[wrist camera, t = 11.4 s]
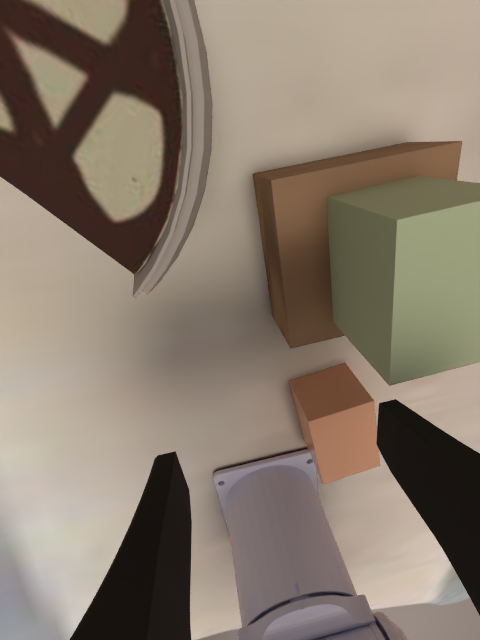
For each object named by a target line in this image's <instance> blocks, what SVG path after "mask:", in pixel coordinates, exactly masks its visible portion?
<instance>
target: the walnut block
mask: <svg viewBox="0 0 480 640" xmlns="http://www.w3.org/2000/svg"><path fill="white" fill-rule="evenodd" d="M461 146H462V141H448V142H407V143H402V144H397V145H392V146H387V147H382V148H377V149H372V150H367V151H362V152H357V153H352V154H348V155H343V156H338V157H333V158H328V159H323V160H318V161H313V162H308V163H303V164H298V165H293V166H288V167H284V168H279V169H274V170H269V171H264V172H259V173H254V174H253V180H254V187H255V194H256V201H257V208H258V215H259V222H260V229H261V237H262V244H263V251H264V258H265V265H266V272H267V279H268V287H269V294H270V301H271V308H272V315H273V318H274V319H275V321H276V323H277V325H278V327H279V329H280V330H281V332H282V334H283V336H284V338H285V339H286V341H287V343H288V345H289V347H290V348H294V347H299V346H303V345H307V344H311V343H315V342H320V341H324V340H328V339H332V338H337V337H341V336H345V335H344V334H343V333H342V332H341V330H340V329H339V328H338V327H337V326H336V325H335V324H334V322H333V307H332V288H331V269H330V250H329V231H328V212H327V197H328V196H332V195H337V194H341V193H346V192H350V191H355V190H359V189H364V188H368V187H373V186H377V185H382V184H386V183H390V182H395V181H399V180H404V179H408V178H413V177H417V176H421V177H430V178H438V179H447V180H455V181H457V175H458V168H459V160H460V153H461Z"/></svg>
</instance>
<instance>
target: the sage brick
mask: <svg viewBox="0 0 480 640" xmlns="http://www.w3.org/2000/svg"><path fill="white" fill-rule="evenodd" d="M327 212H328V231H329V250H330V269H331V288H332V307H333V322H334V324H335V325H336V326H337V327H338V328H339V329H340V330H341V332H342V333H343V334H344V335H345V336H346V337H347V338H348V339H349V341H350V342H351V343H352V344H353V345H354V346H355V347H356V348H357V350H358V351H359V352H360V353H361V354H362V355H363V356H364V358H365V359H366V360H367V361H368V362H369V363H370V364H371V365H372V367H373V368H374V369H375V370H376V371H377V372H378V373H379V375H380V376H381V377H382V378H383V379H384V380H385V381H386V382H387V384H388V385H389V386H390V385H394V384H398V383H401V382H405V381H409V380H413V379H417V378H421V377H424V376H428V375H432V374H436V373H440V372H444V371H447V370H451V369H455V368H459V367H463V366H467V365H471V364H474V363H478V362H480V183H472V182H464V181H455V180H447V179H438V178H430V177H421V176H417V177H413V178H408V179H404V180H399V181H395V182H390V183H386V184H382V185H377V186H373V187H368V188H364V189H359V190H355V191H350V192H346V193H341V194H337V195H332V196H328V197H327Z"/></svg>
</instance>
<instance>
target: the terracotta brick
mask: <svg viewBox="0 0 480 640" xmlns="http://www.w3.org/2000/svg"><path fill="white" fill-rule="evenodd" d="M289 382H290V386H291V390H292V394H293V398H294V402H295V406H296V410H297V414H298V418H299V422H300V425H301V429H302V433H303V437H304V441H305V443H306V445H307V448H308V450H309V452H310V455H311V457H312V459H313V462H314V464H315V467H316V469H317V471H318V474H319V476H320V478H321V481H322V483H323V484H326V483H329V482H332V481H335V480H338V479H341V478H344V477H347V476H350V475H353V474H356V473H359V472H362V471H365V470H369V469H372V468H375V467H378V466H380V459H379V448H378V446H377V444H376V442H377V427H376V416H375V406H374V400H373V399H372V397H371V396H370V395H369V393H368V392H367V391H366V390H365V388H364V387H363V386H362V384H361V383H360V382H359V380H358V379H357V378H356V377H355V375H354V374H353V373H352V371H351V370H350V369H349V367H348V366H347V365H346V363H343V364H340V365H337V366H333V367H330V368H327V369H324V370H321V371H318V372H315V373H312V374H309V375H306V376H303V377H300V378H296V379H293V380H290V381H289Z"/></svg>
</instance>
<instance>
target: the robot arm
mask: <svg viewBox="0 0 480 640" xmlns="http://www.w3.org/2000/svg"><path fill="white" fill-rule="evenodd" d="M376 444H377V446H378V448H379V450H380V452H381V454H382V456H383V458H384V460H385V462H386V463H387V465H388V467H389V469H390V471H391V473H392V474H393V476H394V477H395V479H396V480H397V482H398V483H399V485H400V486H401V488H402V489H403V490H404V492H405V493H406V495H407V496H408V498H409V499H410V501H411V502H412V504H413V505H414V507H415V508H416V510H417V511H418V513H419V514H420V515H421V517H422V518H423V520H424V521H425V523H426V524H427V526H428V527H429V529H430V530H431V532H432V533H433V535H434V536H435V538H436V539H437V541H438V542H439V544H440V545H441V547H442V549H443V550H444V552H445V554H446V555H447V557H448V559H449V561H450V562H451V564H452V566H453V568H454V569H455V571H456V573H457V575H458V577H459V578H460V580H461V582H462V584H463V585H464V587H465V589H466V591H467V593H468V595H469V596H470V598H471V600H472V602H473V604H474V606H475V607H476V609H477V611H478V613H479V615H480V453H478V452H476V451H474V450H473V449H471V448H469V447H468V446H466V445H465V444H463V443H461V442H460V441H458V440H457V439H455V438H453V437H452V436H450V435H449V434H447V433H445V432H444V431H442V430H441V429H439V428H438V427H436V426H435V425H433V424H432V423H430V422H429V421H427V420H426V419H424V418H423V417H421V416H420V415H418V414H417V413H415V412H414V411H412V410H411V409H409V408H408V407H406V406H405V405H403V404H402V403H400V402H399V401H397V400H396V399H395V400H391V401H387V402H383V403H379V413H378V428H377V442H376ZM213 479H214V483H215V487H216V490H217V493H218V497H219V500H220V504H221V507H222V511H223V514H224V517H225V521H226V524H227V528H228V531H229V534H230V538H231V545H232V553H233V561H234V568H235V576H236V584H237V592H238V599H239V607H240V615H241V622H242V628H240V629H239V630H238V636H239V640H408V638H407V637H406V635H405V634H404V632H403V631H402V630H401V628H400V627H399V626H398V625H397V624H396V623H394V622H393V621H391V620H390V619H389V618H388V617H387V616H386V615H385V614H384V613H382V612H375V613H372V612H371V609H370V607H369V604H368V602H367V599H366V597H365V595H358V596H357V594H356V591H355V589H354V586H353V584H352V581H351V579H350V576H349V574H348V571H347V568H346V566H345V563H344V561H343V558H342V556H341V553H340V551H339V548H338V546H337V543H336V541H335V538H334V536H333V533H332V531H331V528H330V526H329V523H328V521H327V518H326V516H325V513H324V510H323V508H322V505H321V503H320V500H319V498H318V488H317V472H316V467H315V464H314V462H313V459H312V457H311V455H310V452H309V450H308V449H306V450H302V451H298V452H293V453H289V454H285V455H281V456H277V457H273V458H269V459H265V460H260V461H256V462H252V463H248V464H244V465H240V466H236V467H232V468H227V469H223V470H219V471H216V472H215V473H214V474H213ZM191 525H192V522H191V508H190V496H189V488H188V486H187V483H186V480H185V477H184V474H183V472H182V469H181V466H180V463H179V460H178V458H177V455H176V452H171V453H167V454H163V455H158V456H157V457H156V458H155V460H154V463H153V466H152V469H151V472H150V475H149V478H148V481H147V484H146V487H145V489H144V492H143V495H142V497H141V500H140V502H139V505H138V507H137V510H136V512H135V514H134V517H133V519H132V522H131V524H130V526H129V529H128V531H127V533H126V535H125V537H124V539H123V542H122V544H121V546H120V548H119V550H118V552H117V555H116V557H115V559H114V561H113V563H112V565H111V567H110V569H109V571H108V573H107V575H106V577H105V578H104V580H103V582H102V584H101V586H100V588H99V590H98V592H97V593H96V595H95V597H94V599H93V601H92V603H91V604H90V606H89V608H88V609H87V611H86V613H85V615H84V616H83V618H82V620H81V621H80V623H79V625H78V627H77V628H76V630H75V632H74V633H73V635H72V637H71V638H70V640H191V630H190V572H191Z"/></svg>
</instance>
